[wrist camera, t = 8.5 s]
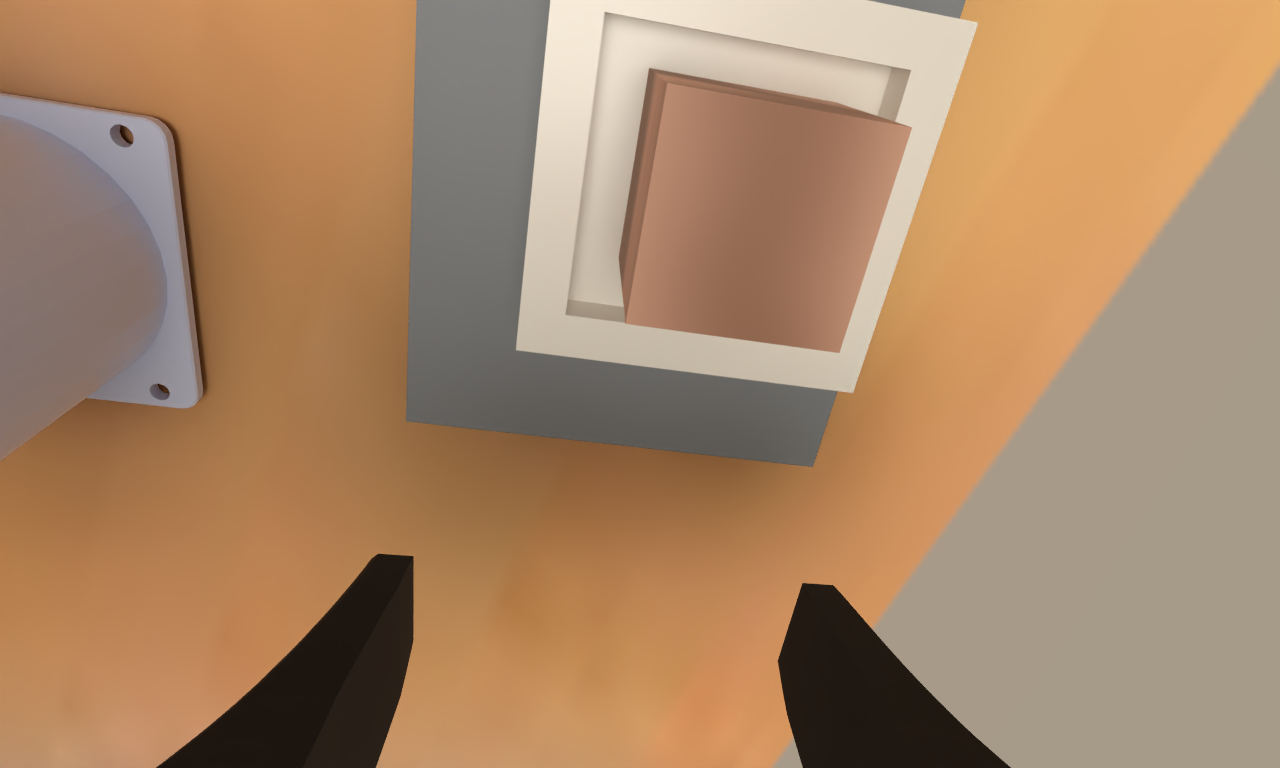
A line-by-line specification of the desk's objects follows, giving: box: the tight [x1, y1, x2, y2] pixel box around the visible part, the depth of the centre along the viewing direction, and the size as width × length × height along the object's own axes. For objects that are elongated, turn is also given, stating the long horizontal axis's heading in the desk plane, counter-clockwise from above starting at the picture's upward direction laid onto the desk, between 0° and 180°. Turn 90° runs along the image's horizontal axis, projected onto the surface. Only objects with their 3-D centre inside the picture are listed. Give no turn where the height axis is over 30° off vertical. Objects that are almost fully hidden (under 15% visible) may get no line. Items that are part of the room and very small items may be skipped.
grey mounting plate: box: [406, 0, 965, 467], centre depth 17 cm, size 12×18×2 cm, turn 170°
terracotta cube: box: [618, 68, 912, 353], centre depth 14 cm, size 4×4×4 cm
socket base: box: [516, 0, 978, 393], centre depth 16 cm, size 8×8×3 cm
